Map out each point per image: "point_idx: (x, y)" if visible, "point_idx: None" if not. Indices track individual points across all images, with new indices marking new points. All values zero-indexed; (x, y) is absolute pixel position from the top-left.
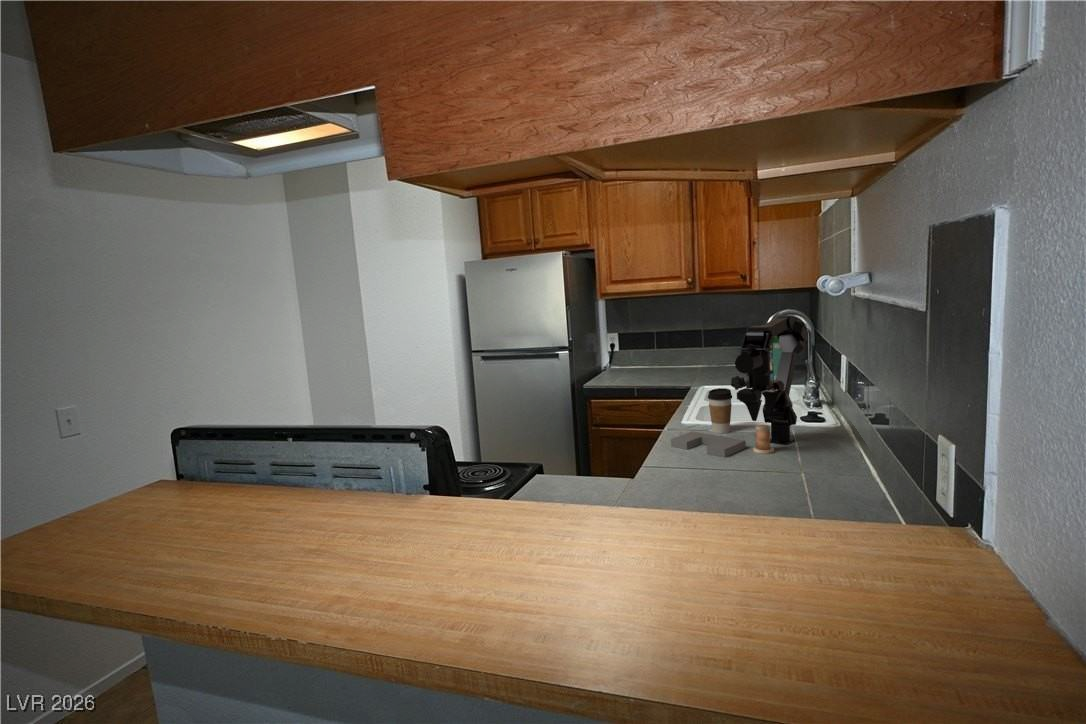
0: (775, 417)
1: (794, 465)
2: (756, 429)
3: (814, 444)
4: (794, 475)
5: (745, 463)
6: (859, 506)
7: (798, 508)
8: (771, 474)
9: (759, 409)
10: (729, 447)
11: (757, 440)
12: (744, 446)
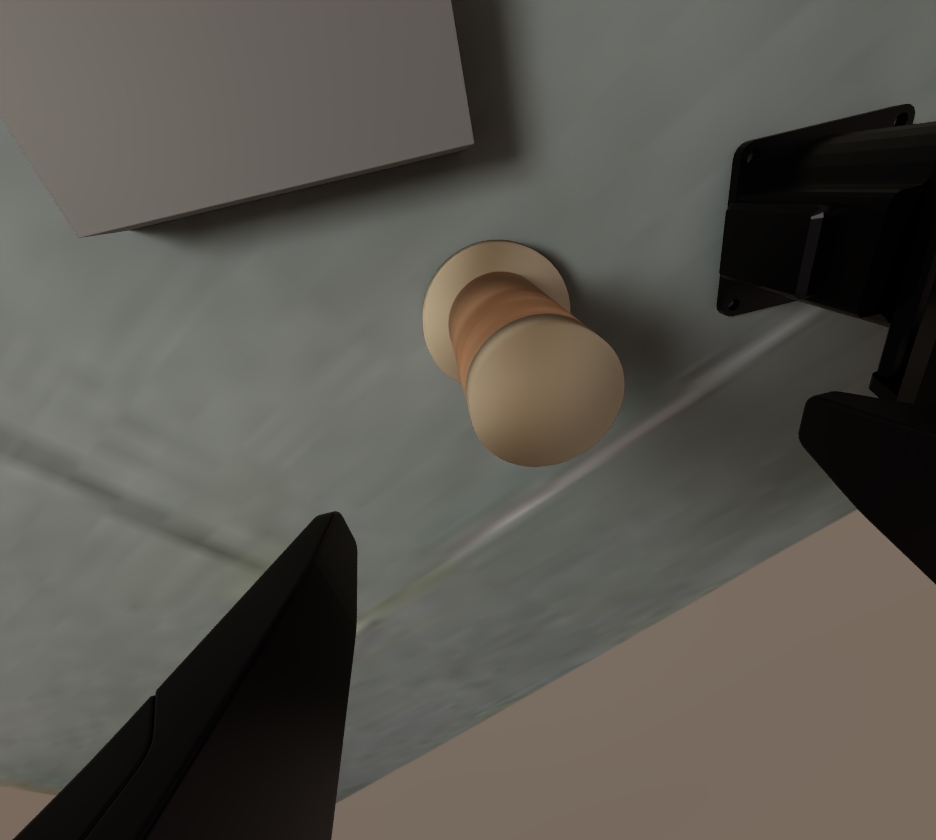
0: (931, 317)
1: (413, 561)
2: (475, 358)
3: None
4: None
5: (205, 423)
6: None
7: None
8: (226, 590)
9: (325, 833)
10: (169, 215)
11: (457, 333)
12: (448, 152)
